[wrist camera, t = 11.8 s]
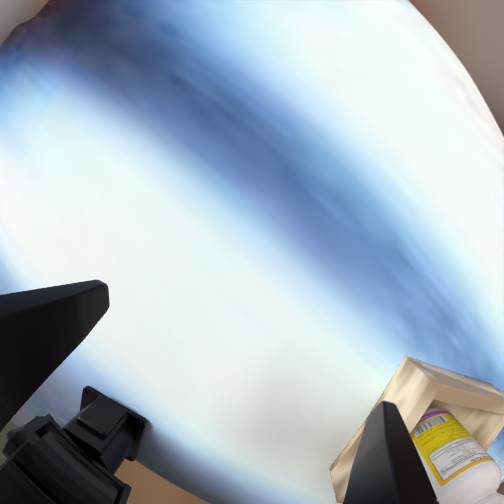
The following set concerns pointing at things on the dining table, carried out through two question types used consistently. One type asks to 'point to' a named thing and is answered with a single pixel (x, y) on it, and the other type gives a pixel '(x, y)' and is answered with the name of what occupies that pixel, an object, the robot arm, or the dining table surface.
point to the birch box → (431, 396)
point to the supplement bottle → (455, 461)
